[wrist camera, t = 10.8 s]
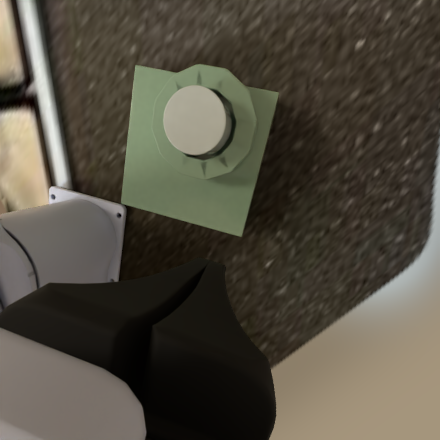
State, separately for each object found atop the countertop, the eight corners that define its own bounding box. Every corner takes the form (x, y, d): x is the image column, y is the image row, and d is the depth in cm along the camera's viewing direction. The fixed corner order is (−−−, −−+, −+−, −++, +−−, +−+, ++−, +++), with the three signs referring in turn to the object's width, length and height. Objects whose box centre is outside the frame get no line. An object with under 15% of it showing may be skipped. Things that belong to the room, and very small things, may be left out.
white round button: (224, 160, 16) (218, 161, 14) (172, 148, 16) (158, 147, 14) (237, 100, 15) (232, 91, 13) (181, 89, 15) (168, 78, 13)
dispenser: (245, 226, 21) (237, 246, 17) (139, 197, 23) (104, 208, 18) (279, 98, 18) (281, 78, 14) (155, 74, 20) (118, 48, 15)
